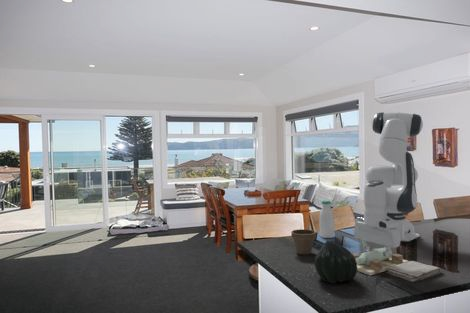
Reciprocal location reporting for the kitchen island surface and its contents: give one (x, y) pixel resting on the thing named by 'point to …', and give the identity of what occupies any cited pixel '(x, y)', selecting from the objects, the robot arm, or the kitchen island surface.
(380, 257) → the ceramic bottle
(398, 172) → the robot arm
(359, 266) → the board
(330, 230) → the milk bottle
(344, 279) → the squash
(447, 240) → the kitchen island surface
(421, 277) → the washcloth
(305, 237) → the flower pot
